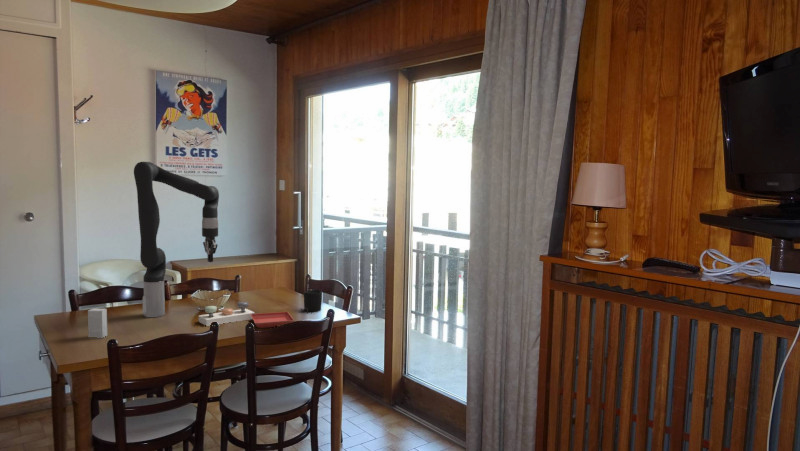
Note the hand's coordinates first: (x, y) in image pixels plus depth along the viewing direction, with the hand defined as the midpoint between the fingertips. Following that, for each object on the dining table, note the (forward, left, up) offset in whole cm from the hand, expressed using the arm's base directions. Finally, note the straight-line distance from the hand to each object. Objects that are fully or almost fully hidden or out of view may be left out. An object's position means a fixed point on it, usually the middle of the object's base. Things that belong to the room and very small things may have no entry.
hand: (210, 261), depth 274 cm
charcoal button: (+11, -13, -25) cm, 30 cm away
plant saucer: (+18, -30, -28) cm, 44 cm away
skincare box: (-52, -8, -27) cm, 59 cm away
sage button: (-5, -13, -25) cm, 28 cm away
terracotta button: (+3, -13, -27) cm, 30 cm away
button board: (+3, -13, -27) cm, 30 cm away
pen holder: (+47, -19, -27) cm, 58 cm away
